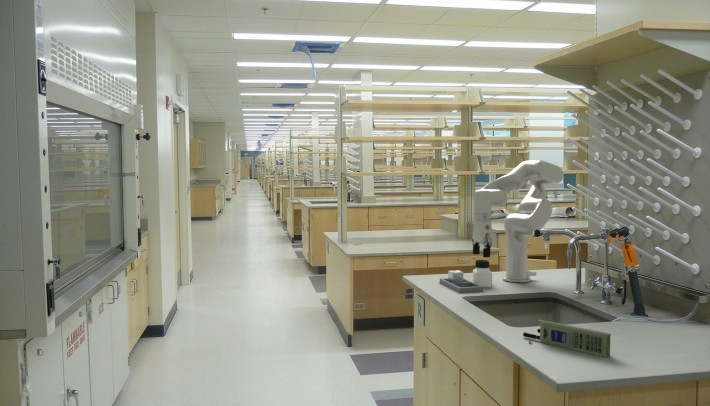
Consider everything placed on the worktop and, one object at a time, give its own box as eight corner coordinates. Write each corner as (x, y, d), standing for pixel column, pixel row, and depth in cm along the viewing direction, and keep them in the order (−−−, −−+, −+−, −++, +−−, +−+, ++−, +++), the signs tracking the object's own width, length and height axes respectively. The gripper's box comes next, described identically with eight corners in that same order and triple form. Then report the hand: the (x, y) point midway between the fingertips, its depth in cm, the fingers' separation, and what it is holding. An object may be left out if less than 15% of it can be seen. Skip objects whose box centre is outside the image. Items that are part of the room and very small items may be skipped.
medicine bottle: (492, 288, 231) (492, 261, 230) (475, 288, 231) (476, 261, 230) (488, 284, 238) (488, 258, 237) (472, 284, 238) (472, 258, 238)
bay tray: (461, 282, 242) (461, 277, 242) (483, 292, 222) (483, 286, 222) (439, 284, 240) (439, 278, 240) (459, 294, 219) (459, 288, 219)
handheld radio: (606, 359, 142) (520, 339, 160) (610, 356, 145) (525, 337, 162) (607, 334, 142) (521, 317, 160) (611, 332, 144) (526, 316, 162)
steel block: (458, 283, 239) (458, 270, 238) (463, 285, 234) (463, 272, 234) (448, 283, 238) (448, 270, 237) (452, 286, 233) (453, 272, 232)
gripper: (499, 218, 225) (498, 258, 226) (480, 216, 242) (479, 253, 243) (483, 219, 223) (482, 258, 224) (465, 216, 240) (465, 253, 241)
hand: (481, 255), depth 233 cm, fingers open, 9 cm apart
